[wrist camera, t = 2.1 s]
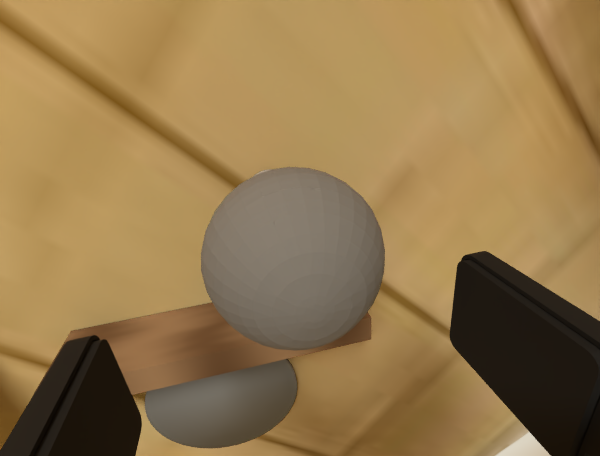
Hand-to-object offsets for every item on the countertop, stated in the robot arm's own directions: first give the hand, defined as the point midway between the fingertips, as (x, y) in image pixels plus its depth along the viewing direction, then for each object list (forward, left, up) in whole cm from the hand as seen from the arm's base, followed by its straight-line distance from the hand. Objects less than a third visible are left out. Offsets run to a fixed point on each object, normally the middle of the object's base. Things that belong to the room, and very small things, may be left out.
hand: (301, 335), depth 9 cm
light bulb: (0, -1, -10) cm, 10 cm away
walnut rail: (+4, +6, -10) cm, 12 cm away
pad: (+5, +13, -10) cm, 17 cm away
